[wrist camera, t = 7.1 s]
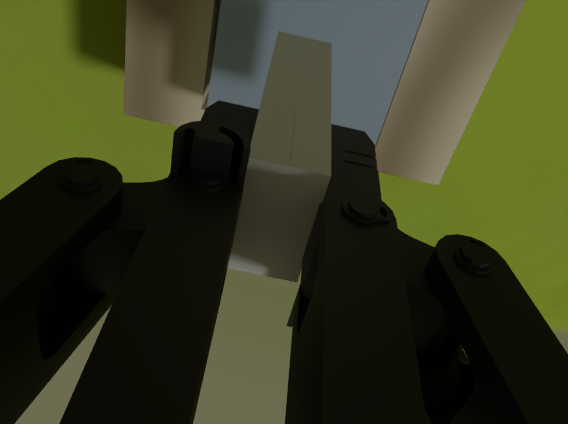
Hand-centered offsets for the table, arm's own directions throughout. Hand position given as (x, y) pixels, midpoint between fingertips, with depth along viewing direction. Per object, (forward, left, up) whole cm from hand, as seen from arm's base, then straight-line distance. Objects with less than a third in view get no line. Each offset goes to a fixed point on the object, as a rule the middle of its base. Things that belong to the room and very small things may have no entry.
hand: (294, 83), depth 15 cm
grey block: (0, 0, -6) cm, 6 cm away
